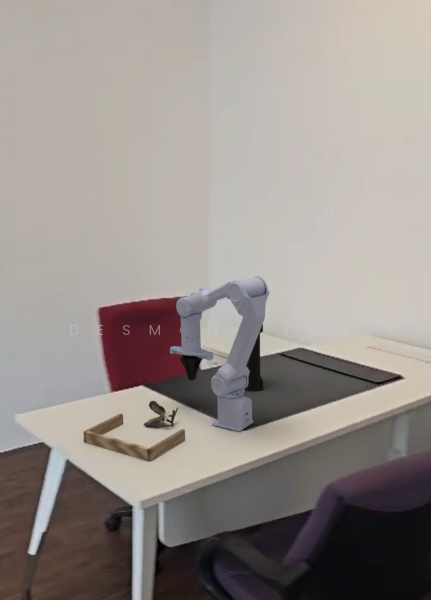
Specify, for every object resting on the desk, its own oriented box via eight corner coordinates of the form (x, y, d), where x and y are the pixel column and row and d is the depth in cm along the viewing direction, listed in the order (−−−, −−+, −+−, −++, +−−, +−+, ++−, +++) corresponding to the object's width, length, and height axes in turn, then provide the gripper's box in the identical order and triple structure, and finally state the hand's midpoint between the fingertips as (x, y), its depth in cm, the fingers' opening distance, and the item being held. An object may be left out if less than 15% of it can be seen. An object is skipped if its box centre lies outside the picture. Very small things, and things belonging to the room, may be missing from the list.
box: (185, 440, 179) (184, 429, 178) (150, 461, 166) (150, 450, 166) (120, 423, 191) (120, 413, 190) (84, 441, 179) (83, 431, 178)
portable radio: (242, 383, 223) (241, 311, 218) (259, 382, 223) (259, 310, 218) (245, 391, 215) (244, 317, 210) (263, 390, 216) (263, 316, 210)
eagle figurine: (178, 415, 193) (149, 408, 195) (178, 401, 188) (148, 393, 190) (170, 436, 188) (141, 429, 190) (170, 423, 183) (139, 415, 185)
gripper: (218, 335, 196) (219, 379, 199) (179, 329, 204) (180, 371, 206) (205, 341, 190) (206, 386, 193) (165, 335, 198) (166, 378, 201)
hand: (192, 379), depth 199 cm, fingers closed
